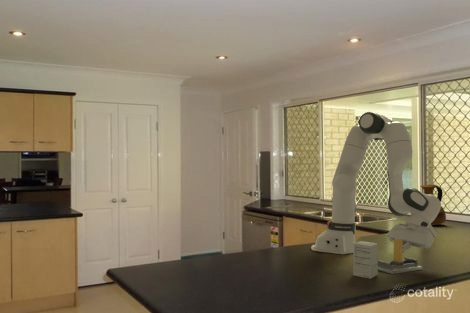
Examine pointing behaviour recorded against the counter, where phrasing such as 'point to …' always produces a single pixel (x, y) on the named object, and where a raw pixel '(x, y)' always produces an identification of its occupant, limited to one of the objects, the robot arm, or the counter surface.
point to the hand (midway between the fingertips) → (400, 251)
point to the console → (399, 266)
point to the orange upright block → (397, 252)
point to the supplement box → (365, 259)
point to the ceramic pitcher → (429, 190)
